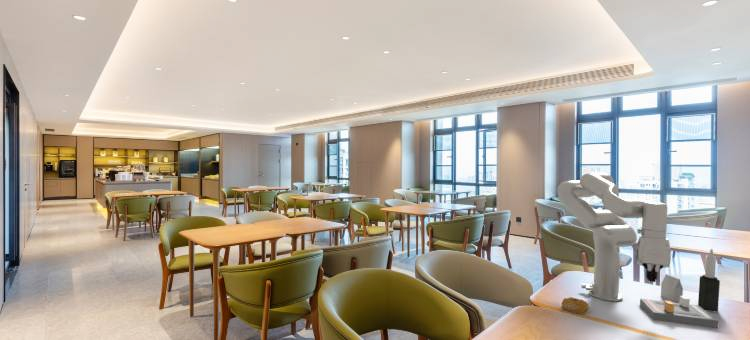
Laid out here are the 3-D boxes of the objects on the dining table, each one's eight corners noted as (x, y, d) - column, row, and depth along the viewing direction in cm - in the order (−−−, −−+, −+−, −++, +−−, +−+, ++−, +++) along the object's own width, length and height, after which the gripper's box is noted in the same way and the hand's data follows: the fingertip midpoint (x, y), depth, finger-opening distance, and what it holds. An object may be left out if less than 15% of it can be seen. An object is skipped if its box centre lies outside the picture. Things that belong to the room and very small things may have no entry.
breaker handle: (667, 311, 140) (667, 303, 140) (664, 308, 143) (664, 300, 143) (673, 312, 140) (674, 304, 140) (670, 309, 143) (670, 301, 142)
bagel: (594, 310, 149) (594, 298, 149) (582, 317, 142) (582, 305, 142) (568, 302, 157) (569, 291, 157) (556, 309, 150) (556, 297, 150)
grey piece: (674, 302, 158) (675, 279, 158) (660, 296, 165) (662, 274, 164) (682, 302, 159) (683, 279, 158) (668, 295, 165) (669, 274, 165)
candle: (719, 311, 149) (723, 251, 148) (704, 310, 150) (708, 250, 149) (710, 306, 154) (714, 248, 153) (696, 305, 155) (700, 247, 154)
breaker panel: (653, 319, 141) (654, 303, 140) (639, 305, 154) (640, 290, 154) (718, 328, 134) (719, 311, 134) (698, 312, 148) (699, 296, 147)
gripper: (634, 234, 141) (632, 281, 142) (681, 237, 136) (679, 286, 137) (627, 230, 148) (625, 275, 149) (672, 233, 143) (670, 280, 144)
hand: (651, 280), depth 143 cm, fingers closed
